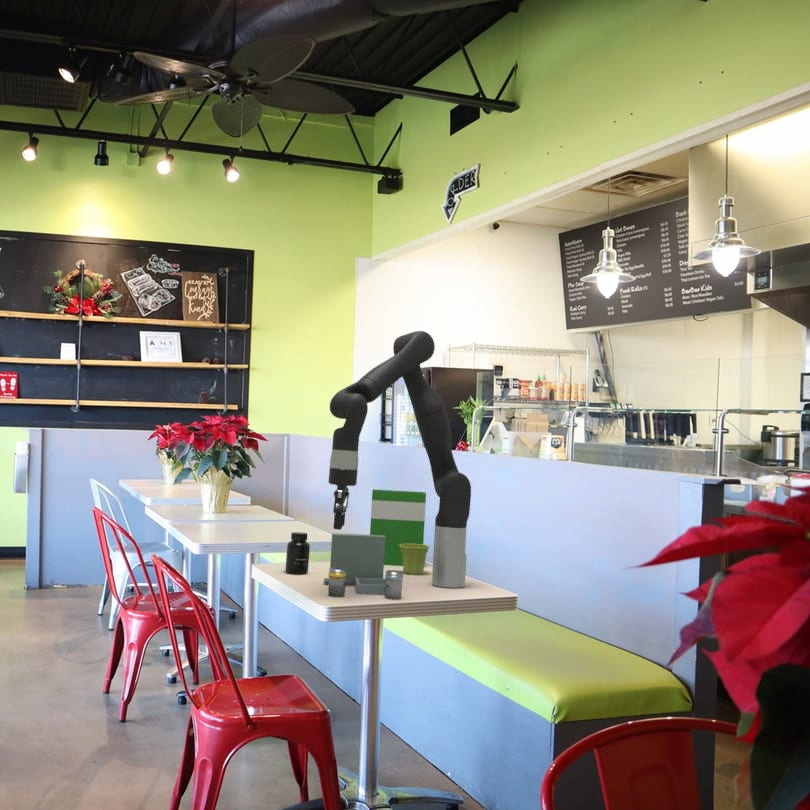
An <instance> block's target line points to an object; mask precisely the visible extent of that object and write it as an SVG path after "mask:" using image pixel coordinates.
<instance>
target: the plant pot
mask: <svg viewBox="0 0 810 810" xmlns="http://www.w3.org/2000/svg"><path fill="white" fill-rule="evenodd" d="M399 546H400V547H401V551H402V559H403V566H402V569H403V571H402V572H403V573H404V574H409V575H420V574H421V575H423V574H424V569H425V563H426V557H427V553H428V551H429V549H430V545H428V544H424V543H423V544H400V545H399Z"/></svg>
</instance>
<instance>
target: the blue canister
mask: <svg viewBox="0 0 810 810" xmlns="http://www.w3.org/2000/svg"><path fill="white" fill-rule="evenodd" d="M403 573H404V571H401V570H396V569H395V570H393V569H391V570H389V569H388V570H386V571H385V578H384V579H386V584H385V595H384V599H386V600H391V599H392V601H394V600H396V601H399V600H401V599H402V594H403V593H402V591H403V580H404V574H403ZM398 599H399V600H398Z"/></svg>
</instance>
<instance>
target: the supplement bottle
mask: <svg viewBox="0 0 810 810" xmlns="http://www.w3.org/2000/svg"><path fill="white" fill-rule="evenodd" d="M290 535H291V537H290V539H291V541H289V542H287V544H286V545H287V546H286V557H285V573H286V574H289V575H307V574H308V572H309V565H310V564H309V563H310V562H309V561H310V552H311V551H310V550H311V548H310V547H311V546H310V543H309V542H308V533H306V532H301V531H299V532H297V531H294V532H291V534H290Z"/></svg>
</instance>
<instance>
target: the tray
mask: <svg viewBox="0 0 810 810" xmlns="http://www.w3.org/2000/svg"><path fill="white" fill-rule="evenodd" d="M385 584H386V579H385V578H383V579H378V578H355V586H354V590H355V593H356V594H357V595H375V594H379V596H381V595H382V596H385Z"/></svg>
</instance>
